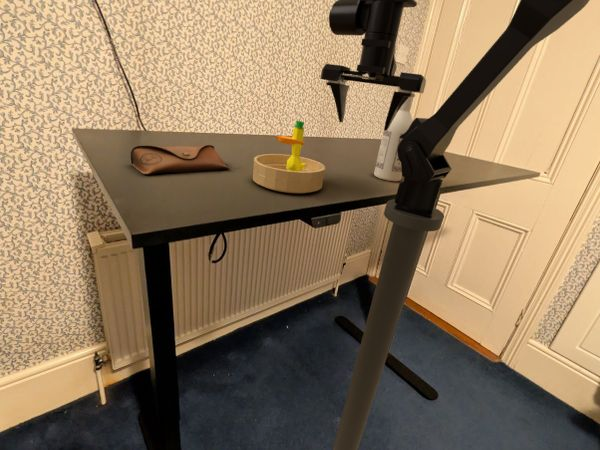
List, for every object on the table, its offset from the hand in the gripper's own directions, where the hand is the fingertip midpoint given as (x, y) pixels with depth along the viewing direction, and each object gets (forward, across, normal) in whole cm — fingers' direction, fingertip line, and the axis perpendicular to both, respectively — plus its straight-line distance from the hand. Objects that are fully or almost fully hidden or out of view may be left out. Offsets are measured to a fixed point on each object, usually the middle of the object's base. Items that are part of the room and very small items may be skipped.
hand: (362, 126), depth 64 cm
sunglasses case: (+13, +32, +16) cm, 38 cm away
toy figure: (+13, +11, +8) cm, 18 cm away
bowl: (+13, +11, +8) cm, 19 cm away
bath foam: (+13, -4, -18) cm, 23 cm away
